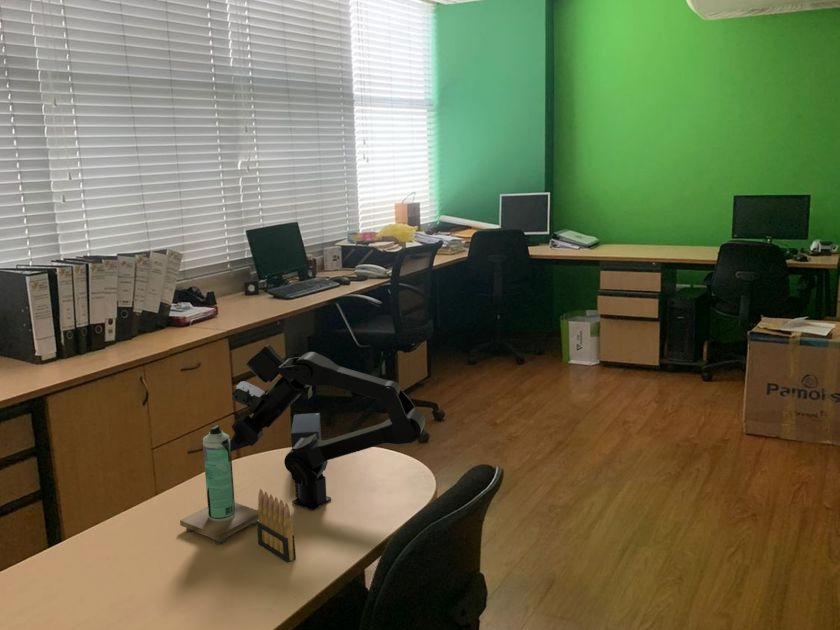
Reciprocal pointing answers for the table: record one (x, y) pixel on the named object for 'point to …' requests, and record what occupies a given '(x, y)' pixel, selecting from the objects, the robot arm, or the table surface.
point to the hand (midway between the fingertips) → (235, 442)
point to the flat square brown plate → (220, 523)
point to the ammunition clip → (275, 527)
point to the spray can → (219, 475)
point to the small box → (305, 427)
